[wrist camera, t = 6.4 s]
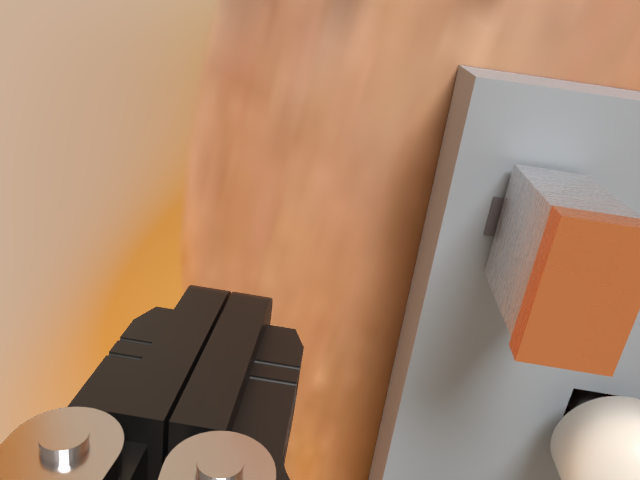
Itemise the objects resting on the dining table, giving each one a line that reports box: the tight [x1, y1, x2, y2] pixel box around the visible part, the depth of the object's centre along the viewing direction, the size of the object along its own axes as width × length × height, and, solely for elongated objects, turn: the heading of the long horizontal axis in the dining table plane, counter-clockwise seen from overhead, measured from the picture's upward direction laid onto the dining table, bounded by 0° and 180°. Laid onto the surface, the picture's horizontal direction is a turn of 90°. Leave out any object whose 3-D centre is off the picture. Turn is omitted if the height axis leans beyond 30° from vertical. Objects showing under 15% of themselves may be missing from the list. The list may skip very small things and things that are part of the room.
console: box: [368, 65, 640, 480], centre depth 24 cm, size 12×24×4 cm, turn 172°
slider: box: [485, 164, 640, 377], centre depth 17 cm, size 3×4×5 cm, turn 172°
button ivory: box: [550, 389, 640, 480], centre depth 22 cm, size 4×4×6 cm
